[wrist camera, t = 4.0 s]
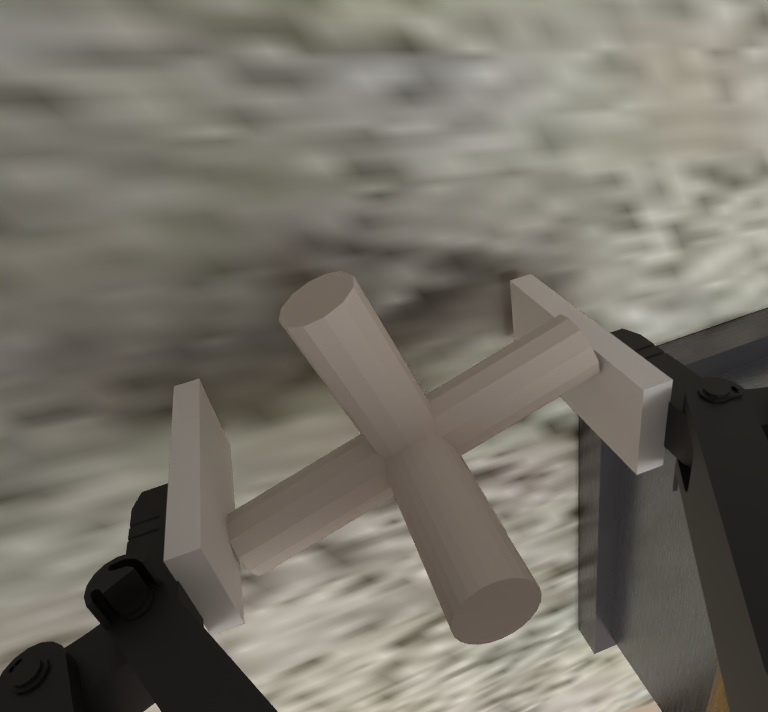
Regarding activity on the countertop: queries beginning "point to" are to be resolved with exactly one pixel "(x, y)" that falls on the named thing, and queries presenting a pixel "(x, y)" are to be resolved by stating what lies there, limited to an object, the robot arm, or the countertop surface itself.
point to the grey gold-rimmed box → (657, 542)
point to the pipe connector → (413, 453)
